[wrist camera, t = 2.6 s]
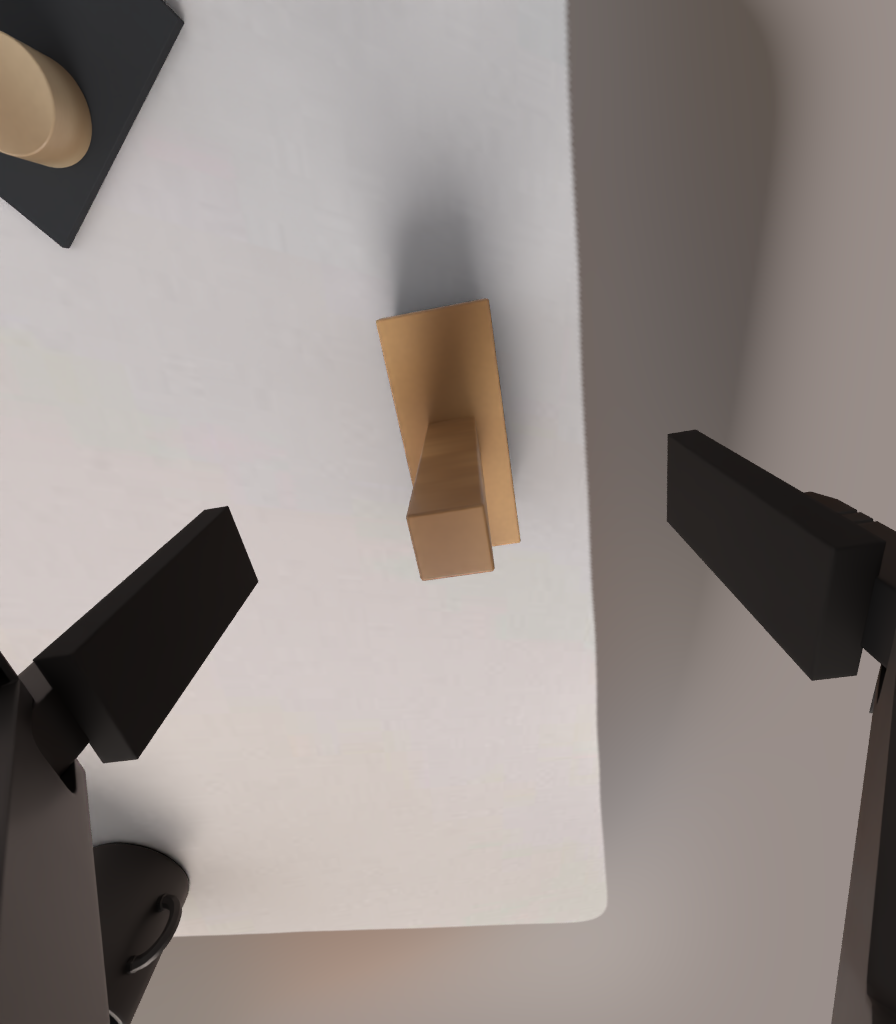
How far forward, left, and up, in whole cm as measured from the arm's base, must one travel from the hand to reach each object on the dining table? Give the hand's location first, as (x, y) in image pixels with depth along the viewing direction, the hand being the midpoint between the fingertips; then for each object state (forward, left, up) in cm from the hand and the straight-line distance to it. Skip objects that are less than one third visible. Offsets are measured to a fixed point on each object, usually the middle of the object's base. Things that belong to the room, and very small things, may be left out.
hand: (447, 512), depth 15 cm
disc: (+2, -20, -10) cm, 22 cm away
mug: (+46, +8, -11) cm, 48 cm away
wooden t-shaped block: (0, 0, -11) cm, 11 cm away
